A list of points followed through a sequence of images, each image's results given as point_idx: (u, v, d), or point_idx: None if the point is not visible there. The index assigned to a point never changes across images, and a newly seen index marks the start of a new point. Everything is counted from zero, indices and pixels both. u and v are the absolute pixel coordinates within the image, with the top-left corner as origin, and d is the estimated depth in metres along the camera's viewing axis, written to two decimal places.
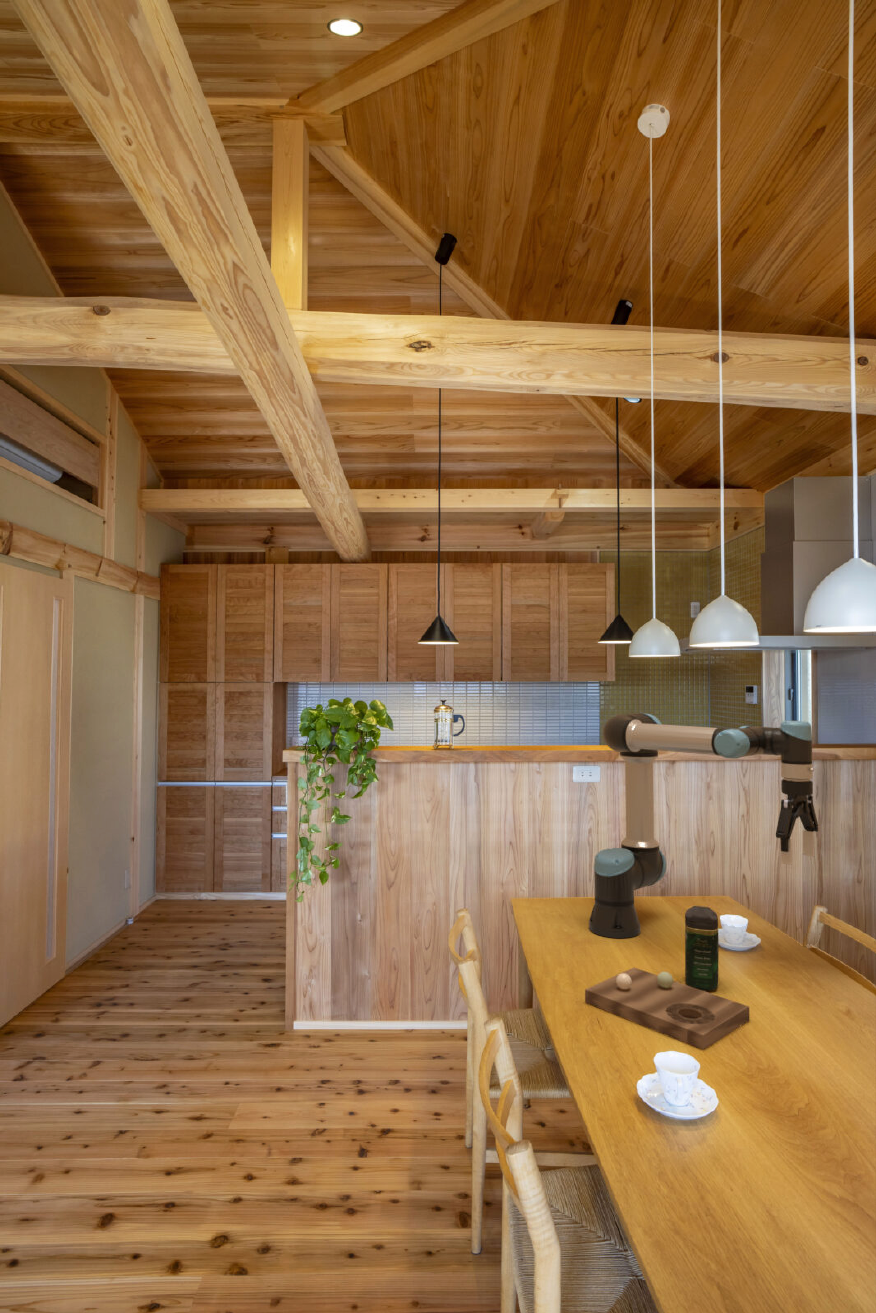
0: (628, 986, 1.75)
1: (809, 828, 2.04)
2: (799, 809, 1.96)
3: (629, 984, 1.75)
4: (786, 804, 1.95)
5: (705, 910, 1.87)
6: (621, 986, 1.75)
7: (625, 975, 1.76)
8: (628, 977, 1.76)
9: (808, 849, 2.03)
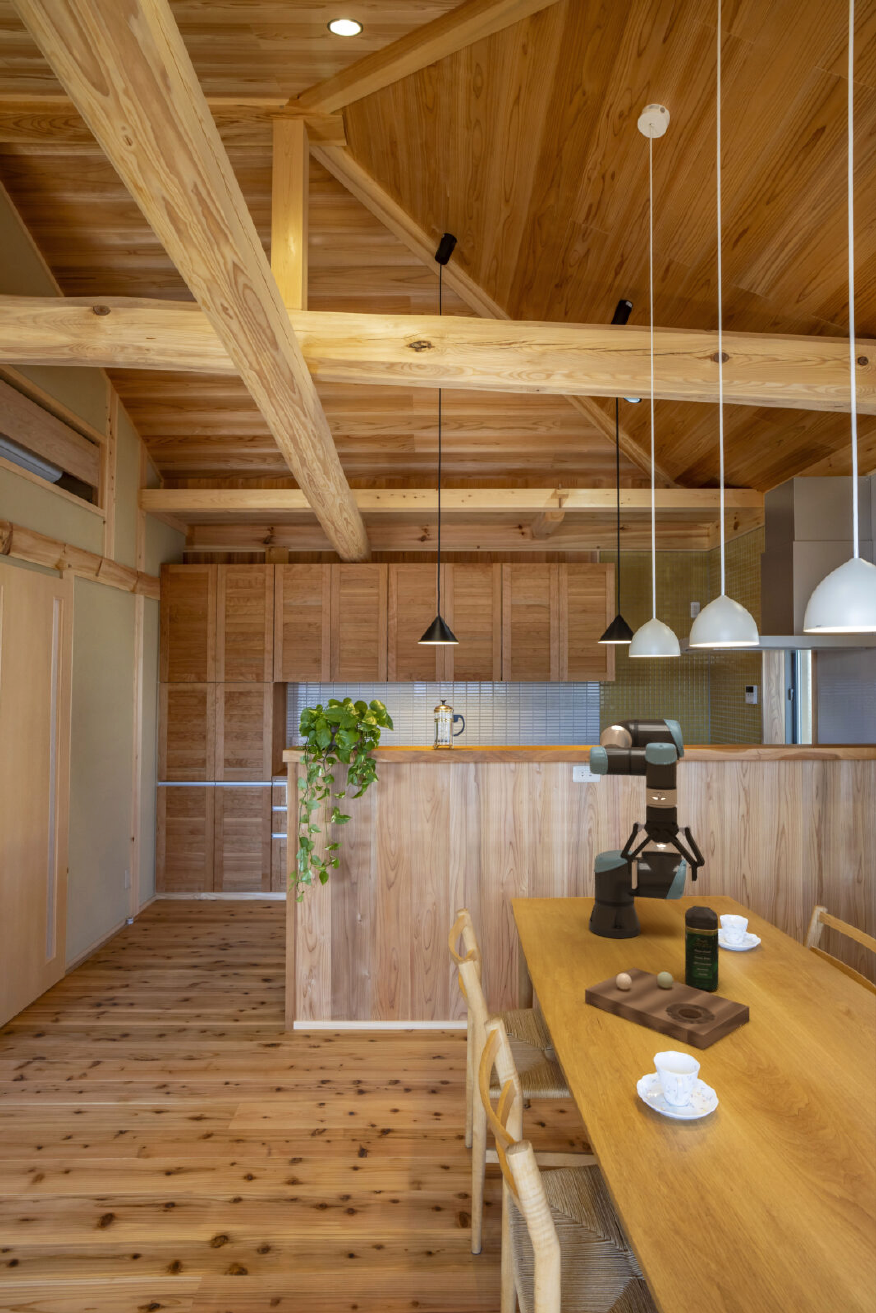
0: (628, 986, 1.75)
1: None
2: (650, 835, 1.88)
3: (629, 984, 1.75)
4: None
5: (705, 910, 1.87)
6: (621, 986, 1.75)
7: (625, 975, 1.76)
8: (628, 977, 1.76)
9: None
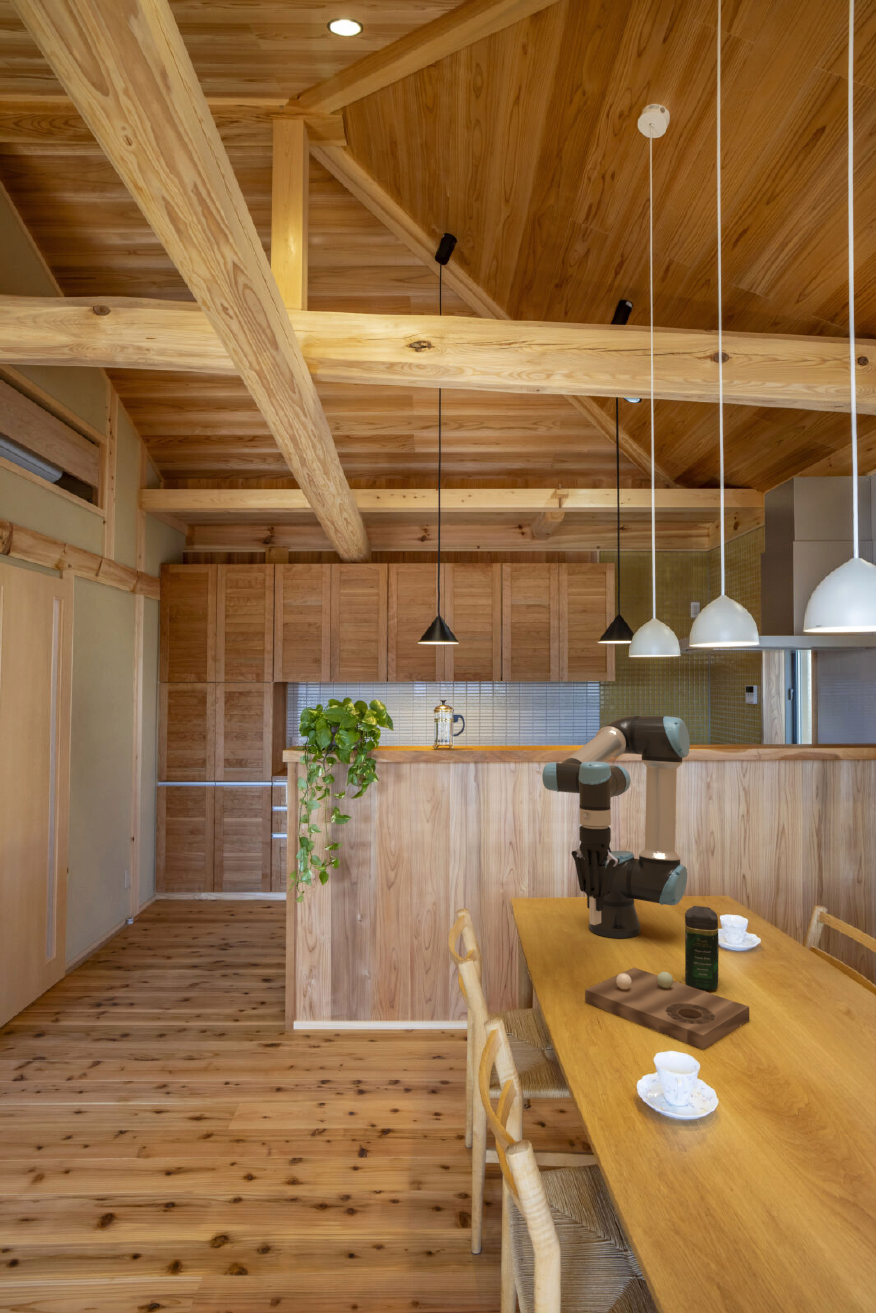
0: (628, 986, 1.75)
1: None
2: (585, 858, 1.83)
3: (629, 984, 1.75)
4: None
5: (705, 910, 1.87)
6: (621, 986, 1.75)
7: (625, 975, 1.76)
8: (628, 977, 1.76)
9: None
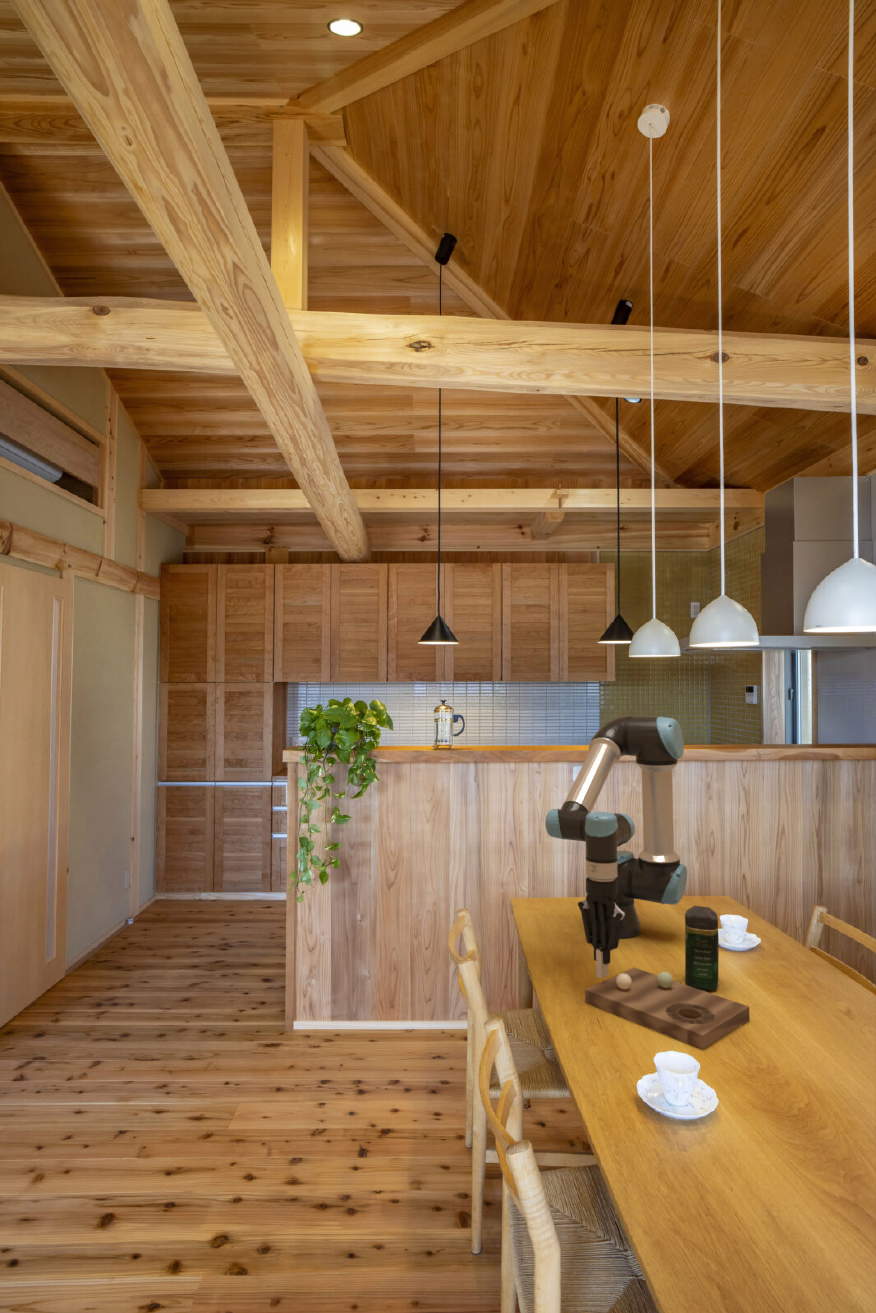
0: (628, 986, 1.75)
1: None
2: (592, 910, 1.82)
3: (629, 984, 1.75)
4: None
5: (705, 910, 1.87)
6: (621, 986, 1.75)
7: (625, 975, 1.76)
8: (628, 977, 1.76)
9: None
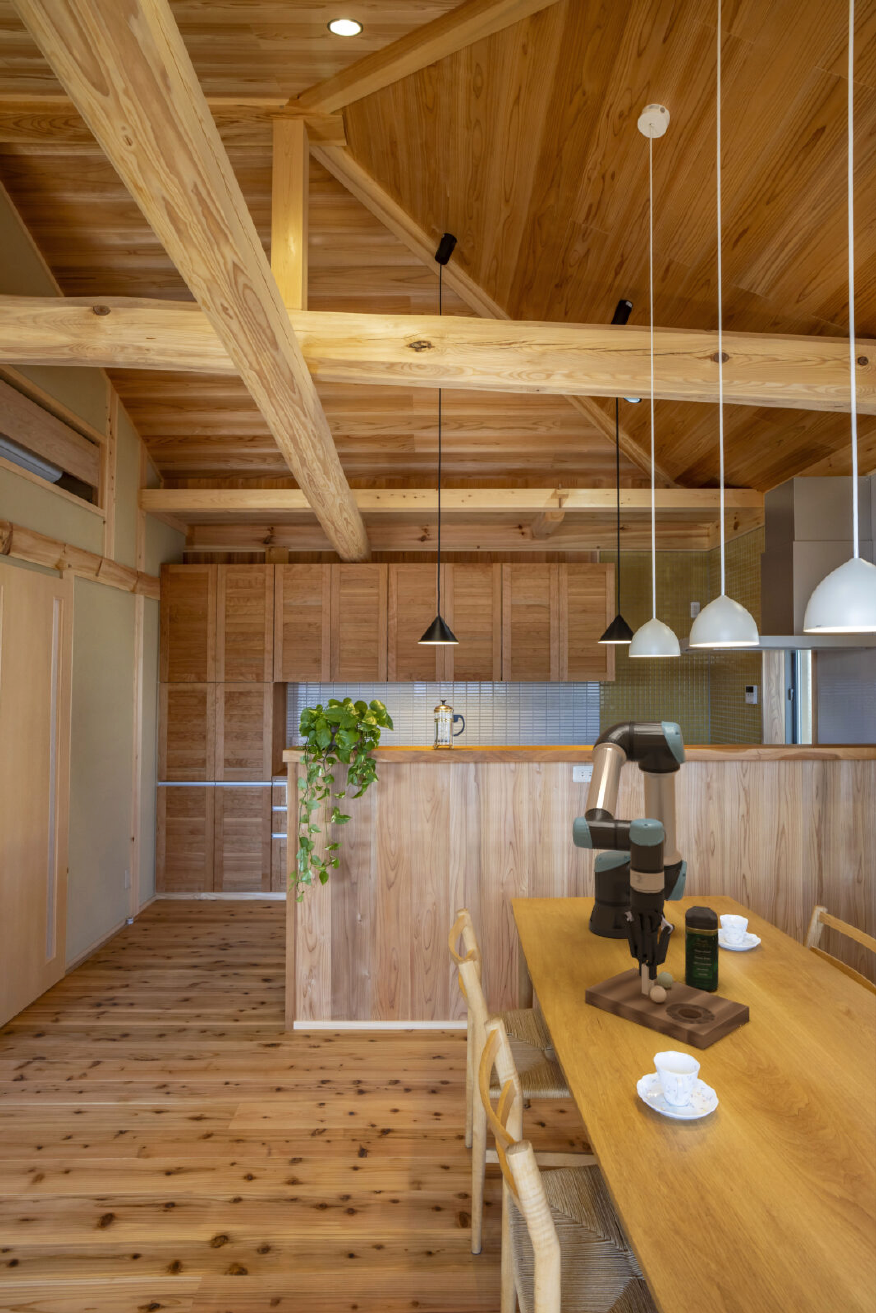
0: (661, 990, 1.69)
1: None
2: (637, 923, 1.72)
3: (660, 988, 1.69)
4: None
5: (705, 910, 1.87)
6: (656, 996, 1.68)
7: (652, 987, 1.70)
8: None
9: None
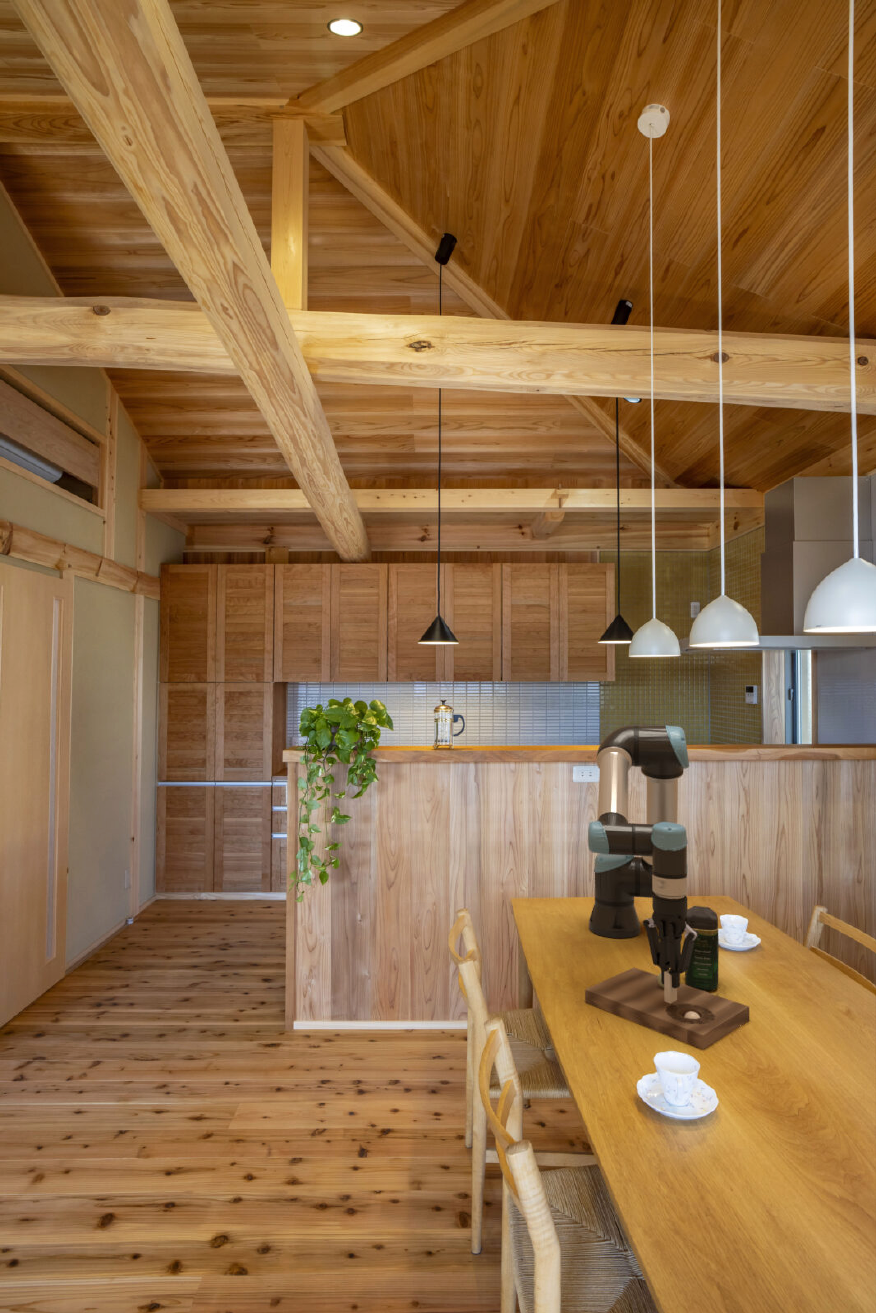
0: (689, 1012, 1.63)
1: None
2: (659, 930, 1.68)
3: (688, 1012, 1.64)
4: None
5: (705, 910, 1.87)
6: None
7: None
8: None
9: None
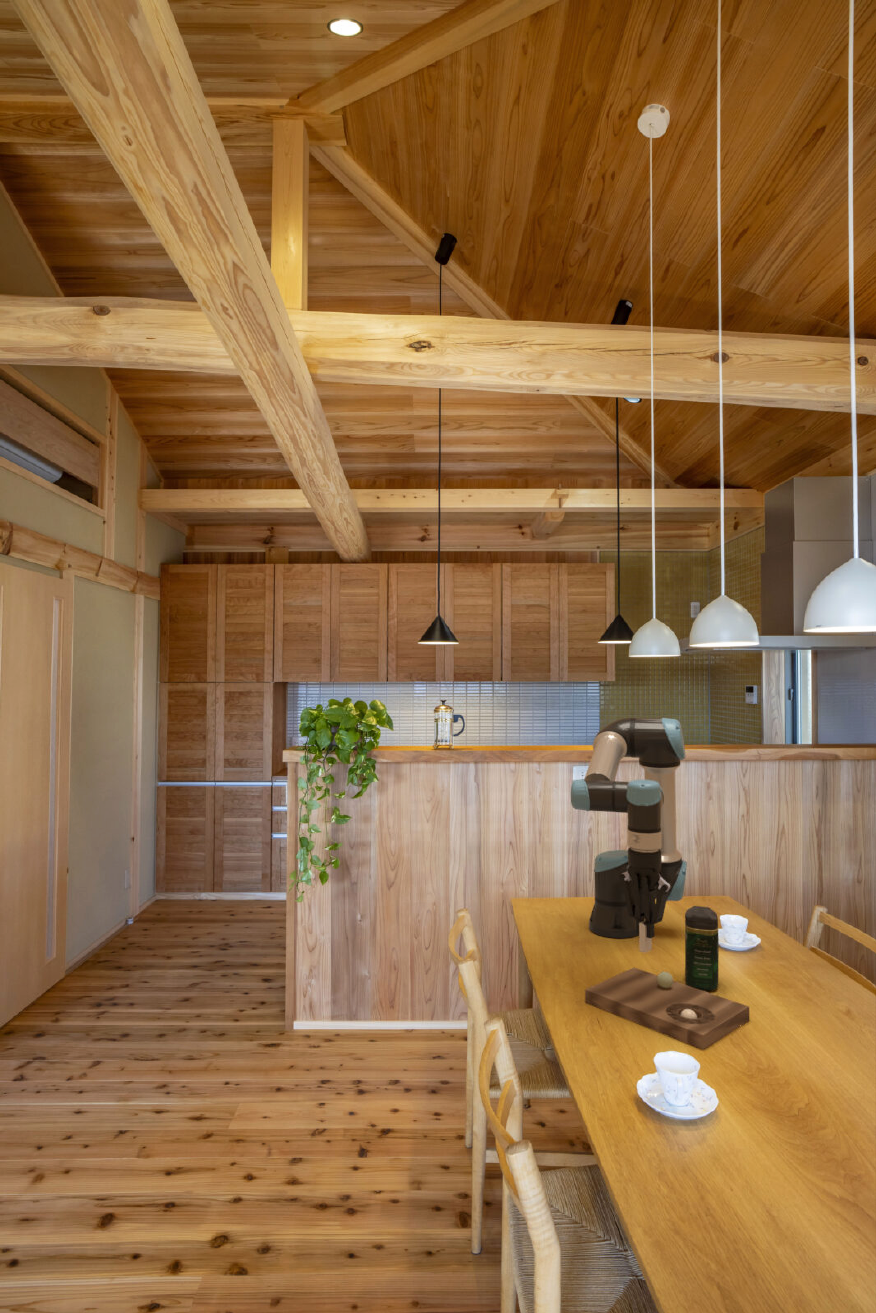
0: (683, 1010, 1.65)
1: None
2: (635, 883, 1.73)
3: None
4: None
5: (705, 910, 1.87)
6: (684, 1014, 1.64)
7: None
8: None
9: None
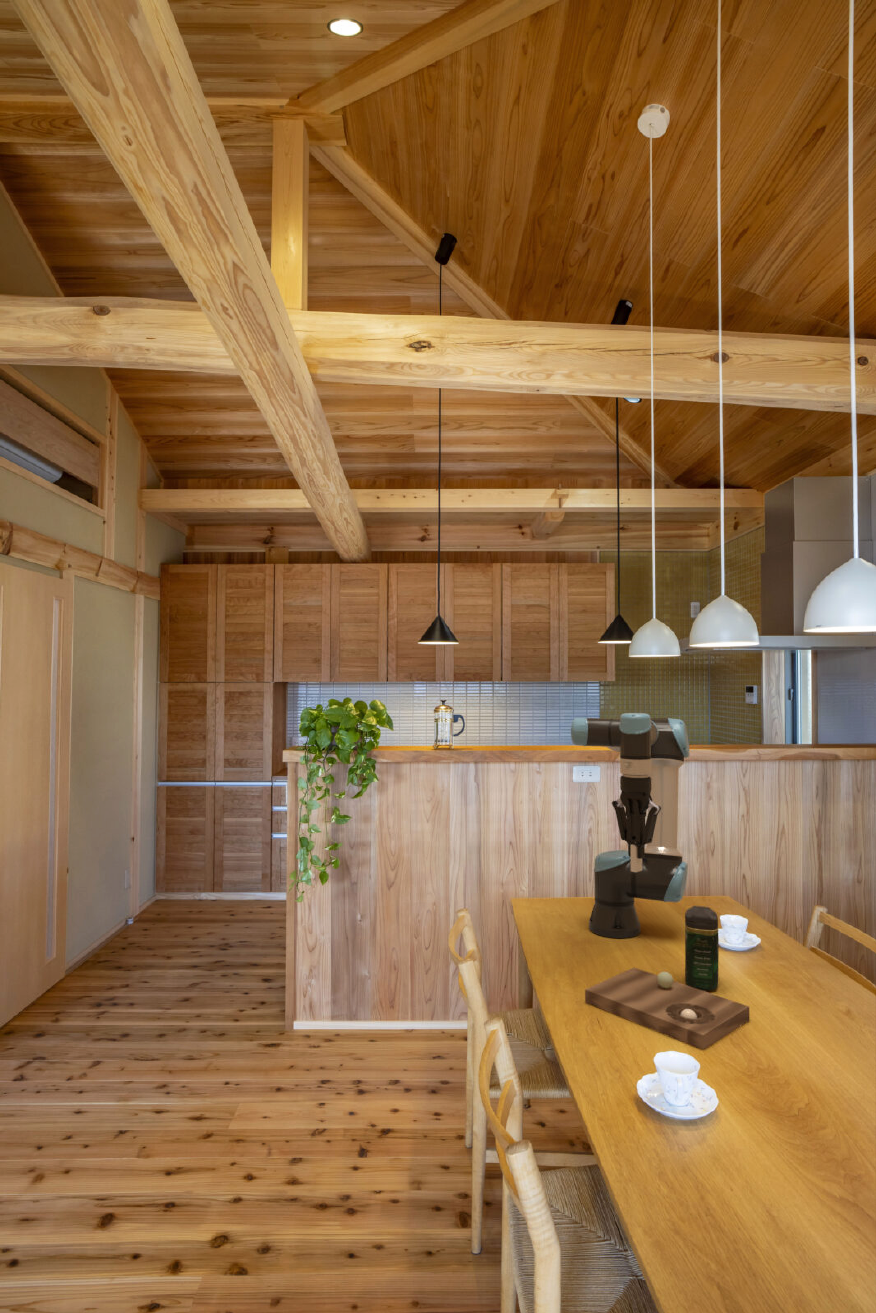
0: (683, 1010, 1.65)
1: None
2: (626, 807, 1.87)
3: None
4: None
5: (705, 910, 1.87)
6: (684, 1014, 1.64)
7: None
8: None
9: None
